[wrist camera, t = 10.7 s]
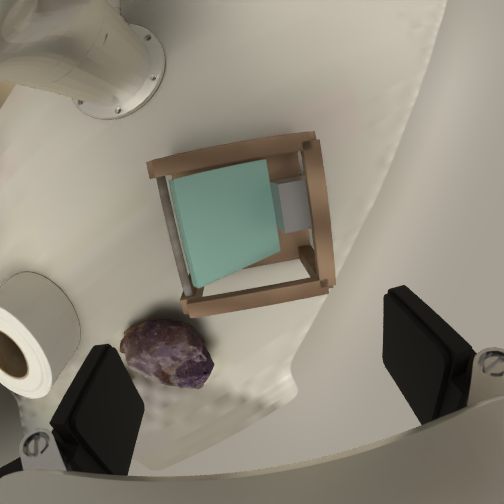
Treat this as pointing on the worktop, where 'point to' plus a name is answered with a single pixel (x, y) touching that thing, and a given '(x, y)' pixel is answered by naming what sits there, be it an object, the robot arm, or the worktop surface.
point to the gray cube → (291, 203)
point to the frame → (291, 244)
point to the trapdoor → (225, 219)
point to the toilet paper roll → (35, 334)
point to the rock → (167, 353)
